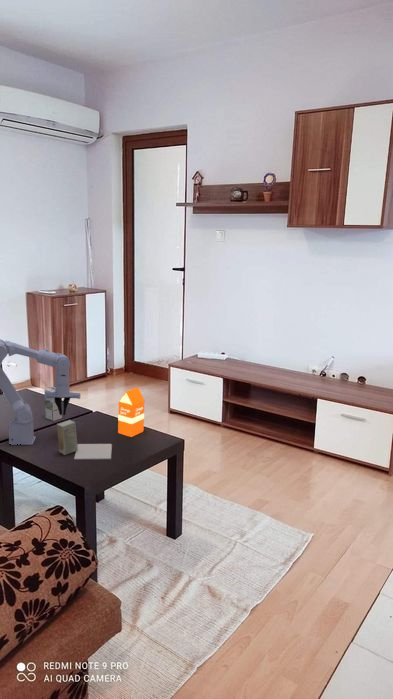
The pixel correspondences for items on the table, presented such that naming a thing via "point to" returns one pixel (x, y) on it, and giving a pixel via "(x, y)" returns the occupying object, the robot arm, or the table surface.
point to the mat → (93, 451)
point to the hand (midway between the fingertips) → (62, 414)
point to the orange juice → (131, 413)
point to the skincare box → (67, 437)
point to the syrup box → (51, 406)
